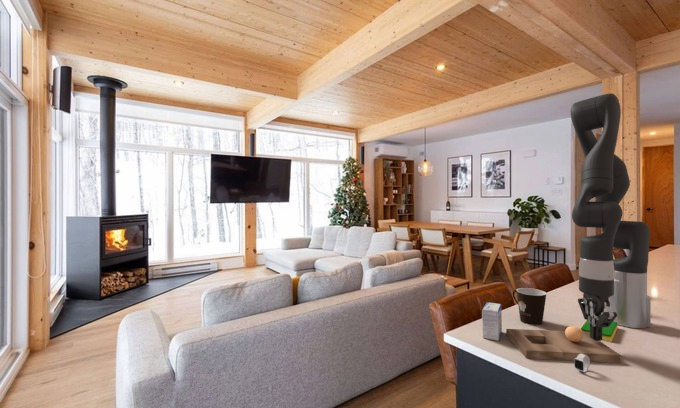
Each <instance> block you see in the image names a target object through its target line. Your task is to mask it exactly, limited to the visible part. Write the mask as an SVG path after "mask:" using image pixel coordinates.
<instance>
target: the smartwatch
mask: <svg viewBox="0 0 680 408" xmlns="http://www.w3.org/2000/svg"><path fill="white" fill-rule="evenodd" d="M573 361H574V365H573V366H574V368H575V369H576V370H577V371H579V372H582V373H586V372H588V370H589V367H590V366H591V361H590V358H589V357H588V356H587V355H584V354H579V355H578V356H577V358H575V359H574V360H573Z"/></svg>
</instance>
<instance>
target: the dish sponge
mask: <svg viewBox="0 0 680 408" xmlns="http://www.w3.org/2000/svg"><path fill="white" fill-rule="evenodd" d="M580 330H581V331H582V332H587V333H589V334H590V324H588V320H586V321H585V322H584V323H583V325H582V326H581V327H580ZM617 330H618V324H617V322H612V323H611V325H610V326H609V327H603V328H602V340H601V341H603V342H608V343H612V341H613V339H614V337H615V334H616V333H617Z"/></svg>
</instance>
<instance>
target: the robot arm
mask: <svg viewBox="0 0 680 408" xmlns="http://www.w3.org/2000/svg"><path fill="white" fill-rule="evenodd" d="M621 115H622V113H621V104H620V101H619V99H618V96H617V95H615V93H610V92H609V93H604V94H600V95H598V96H594V97H590V98H586V99H582V100H579V101H576V102H575V103H573V104H571V107H570V118H571V122H572V126H573V129H574V131H575V133H576V136H577V139H578V142H579V144H580V148H581V150H582V153H583V156H584V160H583V161H582V165H581V170H580V187H579V188H580V189H579V193H578V195H577V196H578V197H577V199H576V202H575V204H574V207H573V209H572V213H571V218H572V221H573V223H574V224H575V225H576V226H578V227H579V228H594V229H595V228H597V229H598V228H599V229H600V228H601V233H600V234H595V235H588V236H582V237H581V239H580V243H579V263H578V290H579V292H581V293H582V296H583V297H582V298H578V299H577V303H578V304H579V308H580V310H581V313H582V316H583V319H584V320H586V321H587V320H588V324H590V338H592V339H593V340H595V341H601V342H602V341H603V340H602V328H603V327H609V326H610V325H611V323H612V322H617V326H618V325H619V326H621V327H625V328H632V329H644V328H648V327H649V328H651V318H652V317H651V315H652V313H651V312H652V311H651V310H652V309H651V308H652V307H651V306H652V305H651V303H652V302H651V301H652V299H651V298H652V297H651V296H649V295H648V265H649V254H650V253H649V252H650V251H649V250H650V241H651V235H650V233H651V232H650V227H649V225H648V224H647V222H643V221H639V220H638V221H635V220H622V218H623V209H622V207H621V205H620V203H621V202H622V201H623V199H624V198H625V196H626V194H627V193H628V191H629V188H630V185H631V181H630V177H629V173H628V168H627V165H626V163H625V162H624V160H622V159H621V158H620V156H618V155H616V154H615V151H616V146H617V142H618V136H619V131H620V124H621V117H622V116H621ZM601 128H602V131H601V134H600V135H599V138H598V139H597V137H596V135H595V134H594V132H593V130H597V129H601ZM594 198H595V201H591V200H592V199H594ZM614 249H618V250H619V249H621V250H629V251H630V252H629V254H628V255H627V256H625V257H620V258H614Z"/></svg>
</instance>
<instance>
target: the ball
mask: <svg viewBox="0 0 680 408" xmlns="http://www.w3.org/2000/svg"><path fill="white" fill-rule="evenodd" d="M564 331H565V335H566V337H567V338H568V339H569V340H570V341H573V342H579V341H581V340H582V338H583V333H582V331H581V328H579V327H577V326H568V327H566V329H565V330H564Z"/></svg>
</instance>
